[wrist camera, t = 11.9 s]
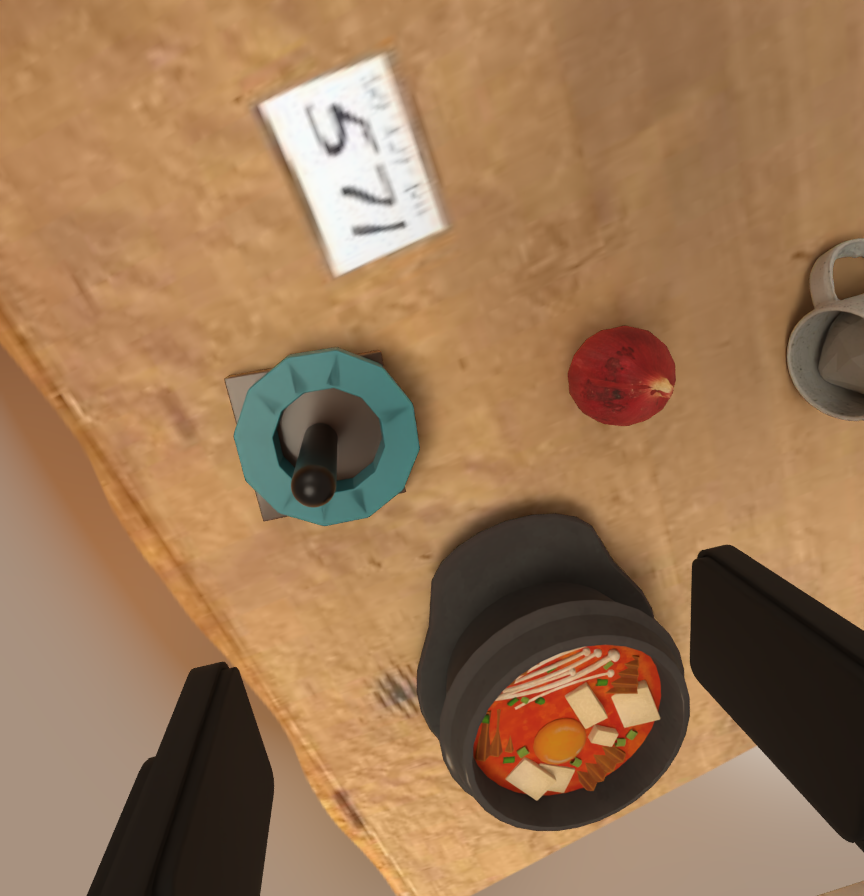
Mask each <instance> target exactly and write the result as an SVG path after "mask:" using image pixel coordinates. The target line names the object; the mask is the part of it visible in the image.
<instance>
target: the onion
mask: <svg viewBox="0 0 864 896" xmlns="http://www.w3.org/2000/svg"><path fill="white" fill-rule="evenodd" d="M675 381H676V375H675V363H674V361H673V359H672V356H671V354H670V352H669V350H668V348H667V346H666V345H665V344H664V343H663V342H661V341H660V340H659V339H658V338H657V337H655V336H654V335H653V334H652V333H651V332H649V331H647V330H643V329H639V328H634V327H629V326H620V327H616V328H612V329H606V330H601V331H599V332H598V333H596V334H595V335H593V336H591V337H590V338H588V339H586V341H585V342H584V343H583V344H582V346H581V347H580V348H579V349H578V351H577V352H576V353H575V354H574V357H573V360H572V363H571V365H570V368H569V371H568V382H569V393H570V395H571V396H572V398H573V400H574V401H575V403H576V404H577V406H578V408H579V409H580V410H581V411H582V412H583V413H584V414H586V415H588V416H589V417H591V418H593V419H595V420H596V421H598V422H601V423H603V424H609V425H618V426H629V425H632V424H636V423H639V422H642V421H645V420H647V419H649V418H651V417H652V416H654V415H655V414H656V413H658V412H659V411H661V410H662V409H663V408H664V406H665V405H666V403H667V402H668V400H669V399H670V397H671V395H672V393H673V388H674V385H675Z"/></svg>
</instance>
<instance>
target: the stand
mask: <svg viewBox="0 0 864 896" xmlns="http://www.w3.org/2000/svg"><path fill="white" fill-rule="evenodd" d="M356 355H359V356H362V357H364V358H367V359H370V360H372V361H375V362H377V363H380V364H381V365H382V366H383V367H384V365H383V360H382V354H381V352H380V350H377V351H371V352H365V353H359V354H356ZM271 369H273V368H271ZM271 369H265V370H259V371H253V372H247V373H241V374H235V375H229V376H228V377H226V378H225V379H224V380H225V384H226V387H227V391H228V395H229V398H230V402H231V405H232V409H233V413H234V416H235V420H236V424H237V423H238V419H239V416H240V413H241V410H242V407H243V404H244V401H245V398H246V394H247V391H248V390H249V388H250V387H251V386H253V385H254V384H255V383H256V382H257V381H258V380H259V379H261V378H262V377H263V376H264V375H265V374H267V373H268V372H269V371H270V370H271ZM277 432H278V437H279V441H280V445H281V449H282V453H283V456H284V457H285V458H286V459H287V460H288V461H289V462H290V463H291V464H292V465H293V467H294V468H295V470H294V473H293V477H292V481H291V490H292V493H293V496H294V497H295V499H296V500H297V501H298V502H299V503H301V504H302V505H304V506H307V507H319V506H322V505H324V504H326V503H328V502H329V501H330V500H331V499H332V497H333V496H334V494H335V491H336V483H337V481H339V480H344V479H350V478H354V477H355V476H356V475H357V474H358V473H360V472H361V471H362V470H363V469H365V468H366V467H367V466H368V465H370V464H371V463H372V462H373V461H374V458H375V455H376V453H377V450H378V447H379V445H380V442H381V440H382V434H381V428H380V422H379V418H378V417H377V415H376V414H375V413H374V412H373V411H372V410H371V408H370V407H369V406H368V405H367V404H366V403H365V401H364V400H363V399H362V398H360V397H358V396H355V395H352V394H349V393H347V392H344V391H341V390H338V389H335V388H331V389H325V390H319V391H313V392H307V393H304V394H302V395H301V396H300V397H299V398H298V399H296V400H295V401H294V402H293V403H291V404H290V405H289V406H288V407H287V408H285V409H284V411H283V413H282V416H281V419H280V422H279V425H278V428H277ZM255 492H256V496H257V500H258V503H259V507H260V511H261V514H262V518H263V521H268V520H273V519H278V518H282V517H287V515H283V514H280V513H278V512H277V511H276V510H275V509H274V508H273V507H272V506H271V505H270V504H269V503H268V502H267V501H266V500H265V499H264V498H263V497H262V496H261V495H260V494H259V493H258V492H257V491H256V490H255ZM404 492H406V489H405V487H404V489H403V490H402V491H401V492H400V493H404ZM398 494H399V493H398Z"/></svg>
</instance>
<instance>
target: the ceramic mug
mask: <svg viewBox="0 0 864 896" xmlns="http://www.w3.org/2000/svg"><path fill="white" fill-rule="evenodd" d="M859 256H860V257H863V258H864V238H858V239H853V240H848V241H845V242H842V243H840V244H838V245H836V246H835V247H833V248H832V249H830V250H829V251H827V252H826V253H824V254H823V255H822V256H820V257H819V258H818V259H817V260H816V262H815V264H814V266H813V268H812V270H811V273H810V277H809V287H810V293H811V299H812V303H813V306H814V310H813V311H811V312H809V313H808V314H806V315H805V316H804V317H803V318H802V319H801V320H800V321H799V322H798V323H797V324H796V326H795V327H794V329H793V331H792V333H791V335H790V337H789V342H788V345H787V365H788V371H789V374H790V376H791V379H792V381H793V384H794V385H795V387H796V388H797V390H798V391H799V393H800V394H801V396H802V397H803V398H804V399H805V400H806V401H807V402H808V403H809V404H811V405H812V406H813V407H815V408H816V409H818V410H819V411H821V412H823V413H825V414H827V415H829V416H832V417H835V418H838V419H843V420H848V421H864V294H861V295H857V296H854V297H850V298H846V299H843V300H839V299H838V298H837V296H836V294H835V290H834V281H833V265H834V262H835V260H836V259H838V258H842V257H853V258H856V257H859Z"/></svg>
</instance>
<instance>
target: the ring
mask: <svg viewBox="0 0 864 896" xmlns="http://www.w3.org/2000/svg"><path fill="white" fill-rule="evenodd" d="M331 388H335V389H338V390H341V391H344V392H347V393H349V394H352V395H355V396H358V397H360V398H362V399H363V400H364V401H365V403H366V404H367V405H368V406H369V407H370V408H371V410H372V411H373V412H374V413H375V414H376V415H377V417H378V418H379V422H380V428H381V434H382V440H381V442H380V445H379V447H378V450H377V453H376V455H375V458H374V461H373V462H372V463H371V464H370V465H368V466H367V467H366V468H365V469H363V470H362V471H361V472H360V473H358V474H357V475H356V476H355V477H354V478H350V479H344V480H339V481H337V483H336V491H335V494H334V496H333V497H332V499H331V500H330V501H329V502H328V503H326V504H324V505H322V506H319V507H307V506H304V505H302V504H301V503H299V502H298V501H297V500H296V499H295V497H294V496H293V493H292V490H291V481H292V477H293V473H294V470H295V468H294V467H293V465H292V464H291V463H290V462H289V461H288V460H287V459H286V458H285V457H284V456H283V453H282V449H281V445H280V441H279V437H278V432H277V428H278V425H279V422H280V419H281V416H282V413H283V411H284V409H285V408H287V407H288V406H289V405H290V404H291V403H293V402H294V401H295V400H296V399H298V398H299V397H300V396H301V395H302V394H304V393H307V392H313V391H319V390H325V389H331ZM234 440H235V443H236V447H237V451H238V455H239V458H240V462H241V466H242V470H243V473H244V477H245V480H246V482H247V483H248V484H249V485H250V486H251V487H252V488H253V489H254V490H256V491H257V492H258V493H259V494H260V495H261V496H262V497H263V498H264V499H265V500H266V501H267V502H268V503H269V504H270V505H271V506H272V507H273V508H274V509H275V510H276V511H277V512H278V513H280V514H283V515H287V516H290V517H294V518H297V519H301V520H304V521H308V522H311V523H315V524H318V525H322V526H328V525H333V524H338V523H343V522H348V521H353V520H358V519H363V518H368V517H370V516H371V515H372V514H374V513H375V512H376V511H377V510H379V509H380V508H381V507H382V506H383V505H385V504H386V503H387V502H388V501H390V500H391V499H392V498H393V497H395V496H396V495H397V494H398V493H400V492H401V491H402V490H403V489H404V487H405V484H406V482H407V479H408V477H409V474H410V472H411V470H412V467H413V465H414V462H415V460H416V457H417V455H418V452H419V450H420V449H419V448H420V446H419V440H418V433H417V427H416V420H415V413H414V407H413V404H412V402H411V401H410V399H409V398H408V397H407V395H406V394H405V393H404V392H403V390H402V389H401V388H400V387H399V386H398V384H397V383H396V382H395V381H394V379H393V378H392V377H391V376H390V375H389V373H388V372H387V371H386V370H385V368H384V367H383V366H382V365H381V364H380V363H377V362H375V361H372V360H370V359H367V358H364V357H362V356H359V355H356V354H354V353H351V352H349V351H346V350H343V349H341V348H338V347H333V348H327V349H321V350H314V351H308V352H301V353H295V354H290V355H288V356H287V357H286V358H285V359H283V360H282V361H281V362H280V363H279V364H277V365H276V366H275V367H274V368H273V369H271V370H270V371H269V372H268V373H267V374H265V375H264V376H263V377H262V378H261V379H259V380H258V381H257V382H256V383H255V384H254V385H253V386H251V387H250V388H249V390H248V391H247V394H246V398H245V401H244V404H243V407H242V410H241V413H240V416H239V419H238V423H237V426H236V429H235V432H234Z"/></svg>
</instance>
